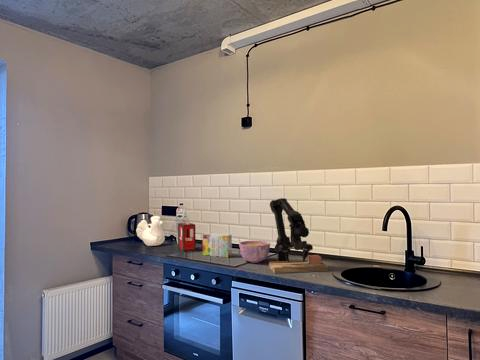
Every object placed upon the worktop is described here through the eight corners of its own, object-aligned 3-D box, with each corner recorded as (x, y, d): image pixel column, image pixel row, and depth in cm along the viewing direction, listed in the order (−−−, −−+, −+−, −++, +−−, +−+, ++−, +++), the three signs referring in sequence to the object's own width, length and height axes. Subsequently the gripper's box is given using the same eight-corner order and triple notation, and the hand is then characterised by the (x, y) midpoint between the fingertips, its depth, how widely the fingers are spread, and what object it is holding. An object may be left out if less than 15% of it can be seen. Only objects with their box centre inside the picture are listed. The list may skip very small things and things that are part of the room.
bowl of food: (268, 265, 198) (268, 246, 198) (236, 264, 202) (235, 245, 202) (272, 258, 217) (272, 240, 218) (242, 257, 221) (242, 240, 222)
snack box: (232, 256, 226) (232, 234, 226) (227, 258, 221) (227, 235, 222) (207, 253, 237) (206, 232, 237) (202, 255, 232) (202, 233, 232)
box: (269, 266, 195) (269, 261, 195) (318, 264, 198) (318, 259, 198) (274, 273, 179) (274, 268, 179) (328, 271, 183) (328, 265, 183)
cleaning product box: (195, 251, 246) (195, 224, 246) (183, 252, 242) (183, 225, 243) (189, 248, 261) (189, 222, 261) (178, 249, 257) (177, 223, 258)
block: (307, 262, 196) (307, 255, 196) (317, 261, 197) (317, 255, 197) (311, 264, 190) (311, 257, 190) (321, 264, 191) (321, 257, 191)
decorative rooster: (168, 245, 278) (168, 215, 278) (155, 248, 264) (155, 216, 265) (146, 243, 290) (146, 214, 291) (132, 245, 276) (132, 215, 277)
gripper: (283, 237, 183) (283, 266, 183) (315, 236, 186) (316, 264, 186) (278, 234, 195) (278, 261, 194) (309, 233, 197) (309, 260, 197)
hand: (295, 262), depth 192 cm, fingers open, 9 cm apart
